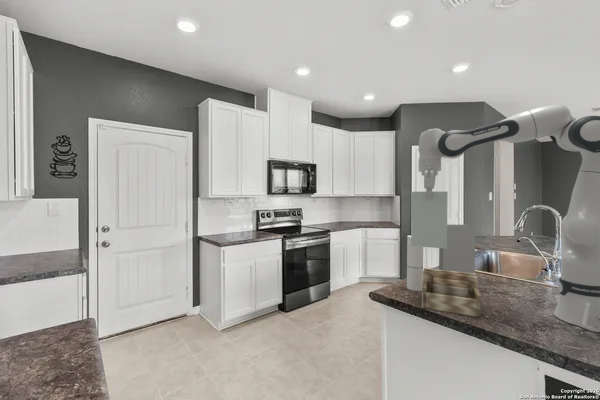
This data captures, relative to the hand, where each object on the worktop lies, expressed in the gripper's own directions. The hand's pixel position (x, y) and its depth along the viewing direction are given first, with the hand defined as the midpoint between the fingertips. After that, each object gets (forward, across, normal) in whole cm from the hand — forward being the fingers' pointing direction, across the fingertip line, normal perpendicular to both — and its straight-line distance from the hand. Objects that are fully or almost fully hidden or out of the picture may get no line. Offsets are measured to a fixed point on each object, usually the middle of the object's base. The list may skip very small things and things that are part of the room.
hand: (429, 199), depth 121 cm
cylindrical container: (+43, +10, +6) cm, 45 cm away
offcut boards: (+43, -7, -8) cm, 44 cm away
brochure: (+43, +21, -12) cm, 50 cm away
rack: (+43, -4, -8) cm, 44 cm away
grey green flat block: (+21, 0, 0) cm, 21 cm away
